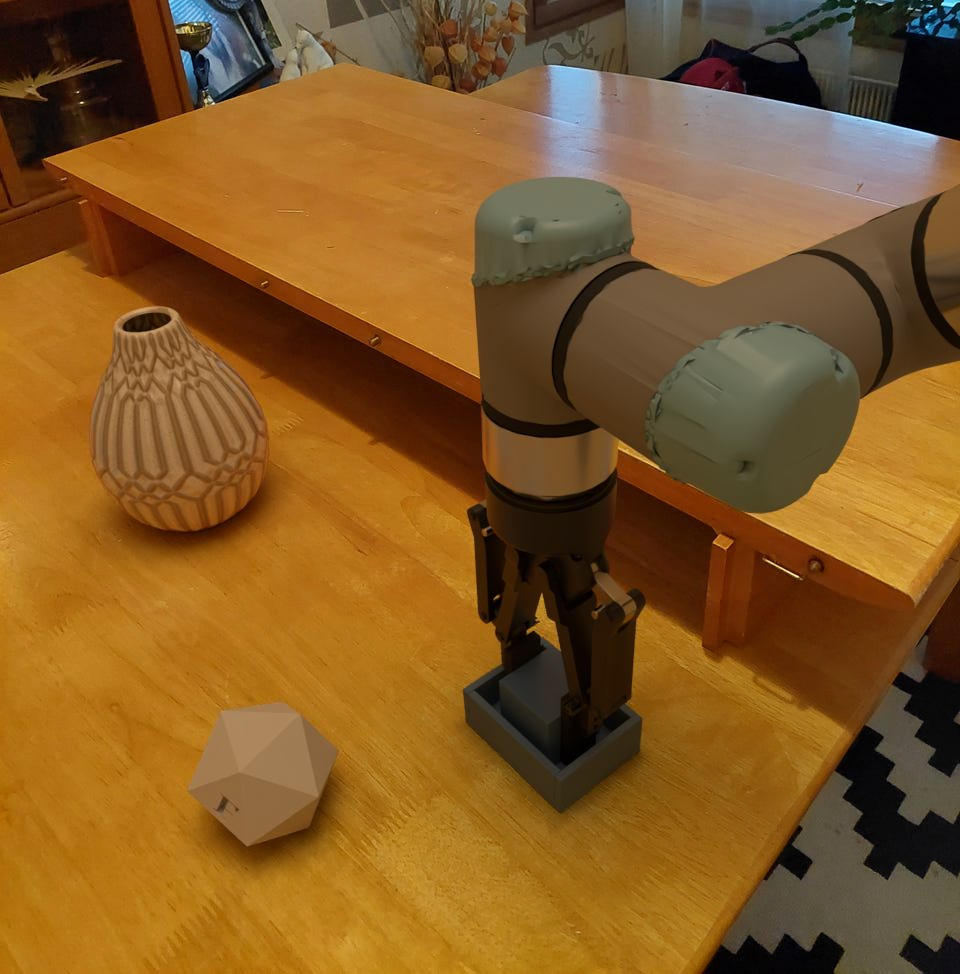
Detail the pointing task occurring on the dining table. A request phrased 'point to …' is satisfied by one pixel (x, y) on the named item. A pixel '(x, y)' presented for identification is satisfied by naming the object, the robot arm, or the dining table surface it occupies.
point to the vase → (175, 426)
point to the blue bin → (548, 779)
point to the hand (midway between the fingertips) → (550, 727)
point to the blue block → (537, 701)
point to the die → (263, 771)
